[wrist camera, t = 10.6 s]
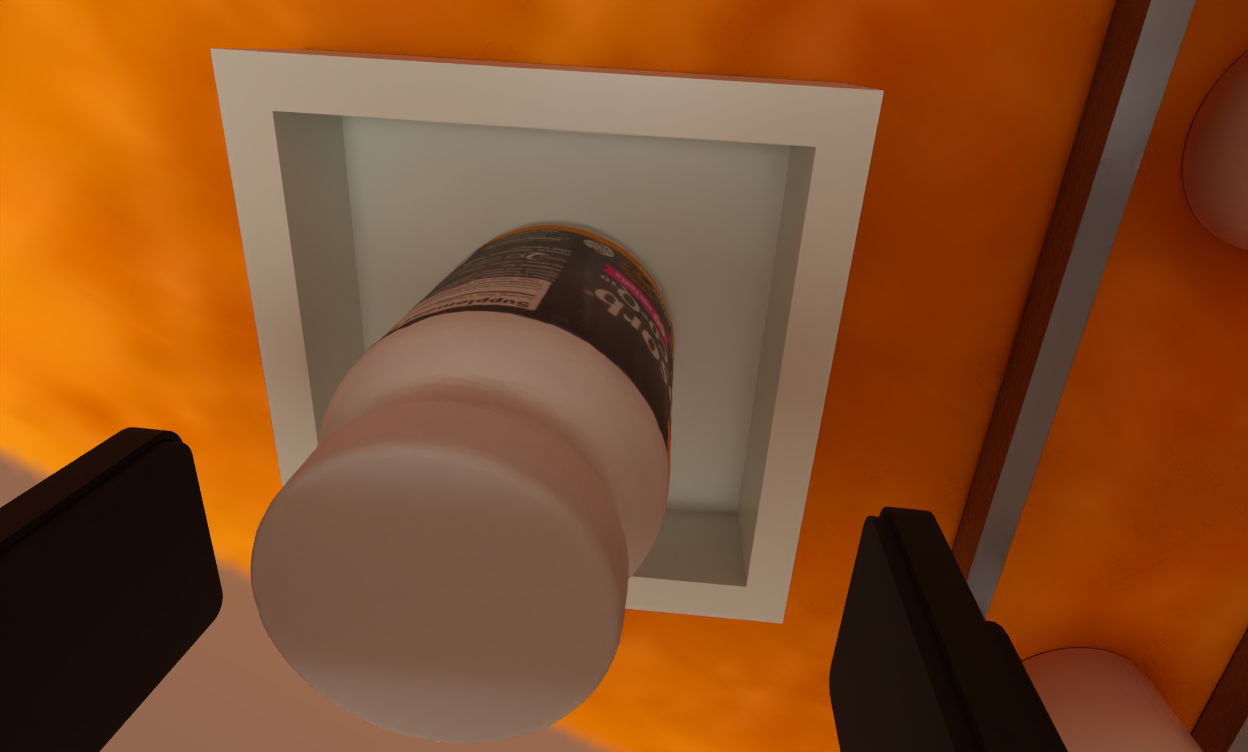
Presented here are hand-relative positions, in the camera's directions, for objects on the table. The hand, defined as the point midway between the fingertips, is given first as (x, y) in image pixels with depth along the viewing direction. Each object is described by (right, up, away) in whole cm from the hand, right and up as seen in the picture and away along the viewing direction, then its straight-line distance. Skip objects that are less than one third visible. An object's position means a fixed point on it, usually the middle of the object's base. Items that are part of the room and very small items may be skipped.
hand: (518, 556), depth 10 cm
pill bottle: (0, +4, +8) cm, 9 cm away
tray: (0, +4, +8) cm, 9 cm away
